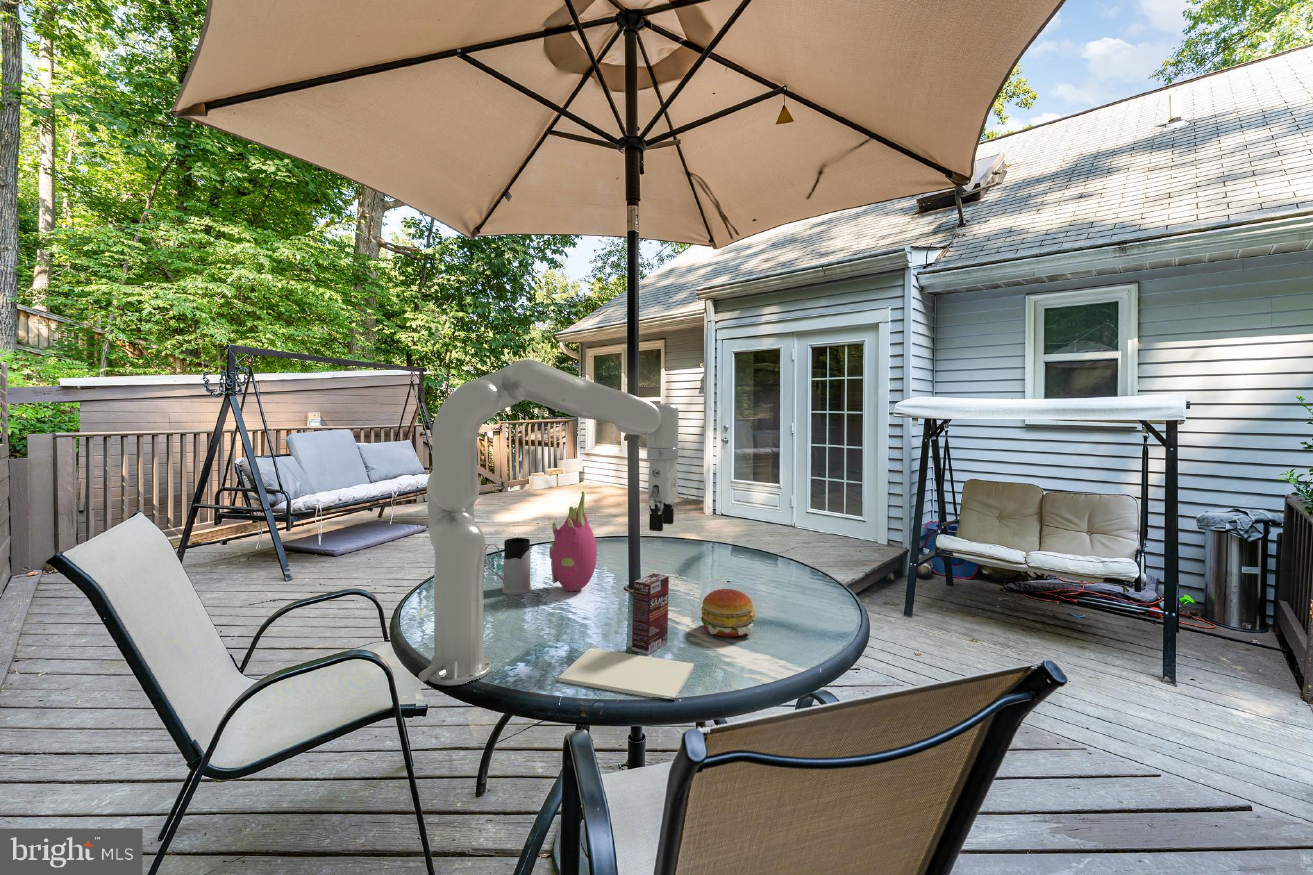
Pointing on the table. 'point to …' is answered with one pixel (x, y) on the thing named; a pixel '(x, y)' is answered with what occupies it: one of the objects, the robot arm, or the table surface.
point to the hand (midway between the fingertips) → (661, 526)
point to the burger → (728, 613)
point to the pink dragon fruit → (573, 550)
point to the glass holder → (515, 565)
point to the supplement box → (650, 613)
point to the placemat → (628, 673)
